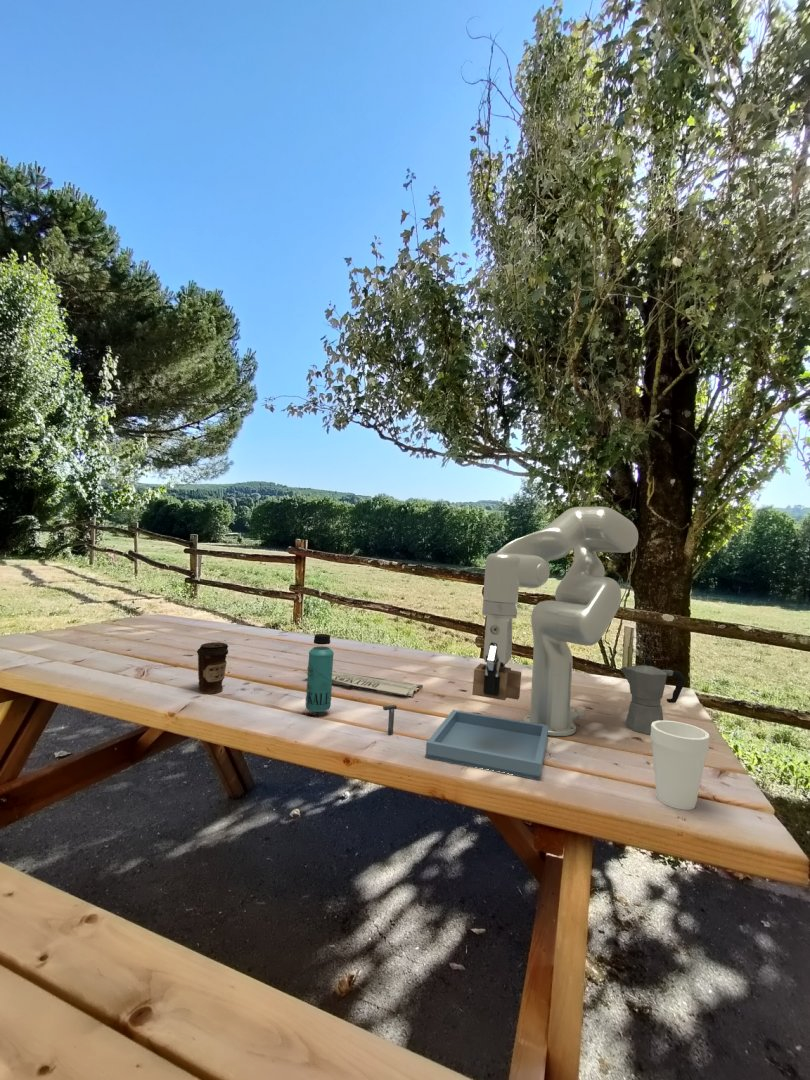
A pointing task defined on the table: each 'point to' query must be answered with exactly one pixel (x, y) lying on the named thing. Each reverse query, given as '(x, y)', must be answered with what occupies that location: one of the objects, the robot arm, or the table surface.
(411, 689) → the newspaper
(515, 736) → the slate tray
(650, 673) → the coffeepot
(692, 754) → the foam cup
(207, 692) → the coffee cup
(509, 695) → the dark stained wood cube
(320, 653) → the beverage bottle
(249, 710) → the table surface
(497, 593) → the robot arm
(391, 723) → the t head stake
